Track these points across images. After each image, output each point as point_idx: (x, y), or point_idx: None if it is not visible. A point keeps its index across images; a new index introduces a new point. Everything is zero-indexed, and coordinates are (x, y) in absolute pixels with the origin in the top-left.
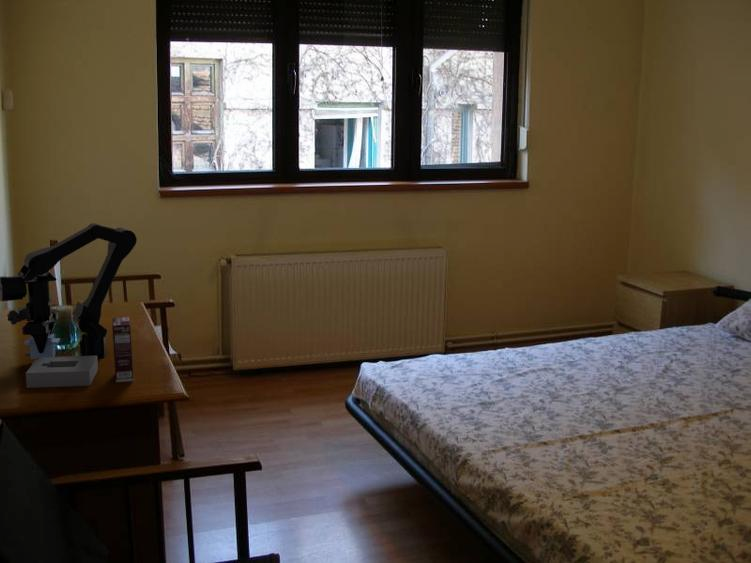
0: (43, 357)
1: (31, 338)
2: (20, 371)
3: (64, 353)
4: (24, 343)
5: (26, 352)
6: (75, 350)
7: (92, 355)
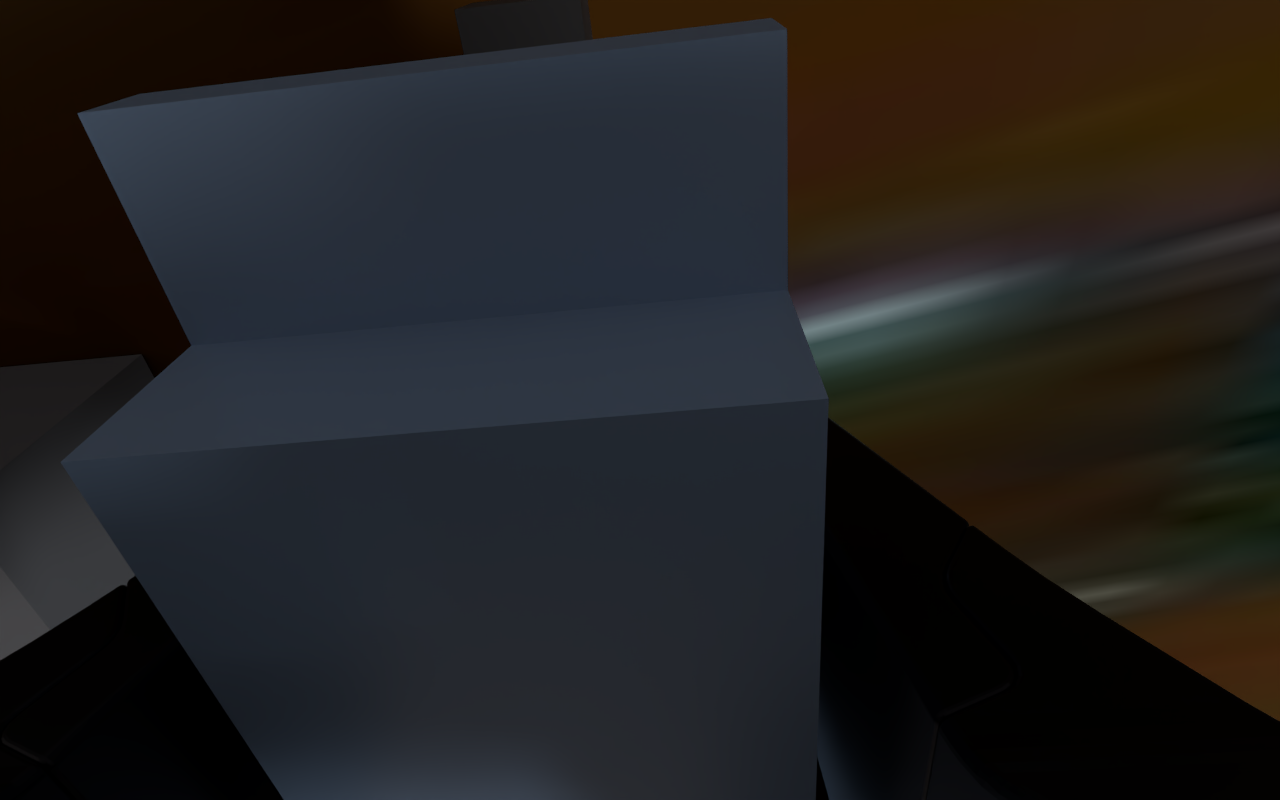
0: (19, 603)
1: (130, 540)
2: (21, 44)
3: (1109, 465)
4: (114, 132)
5: (564, 2)
6: (1224, 559)
7: None
